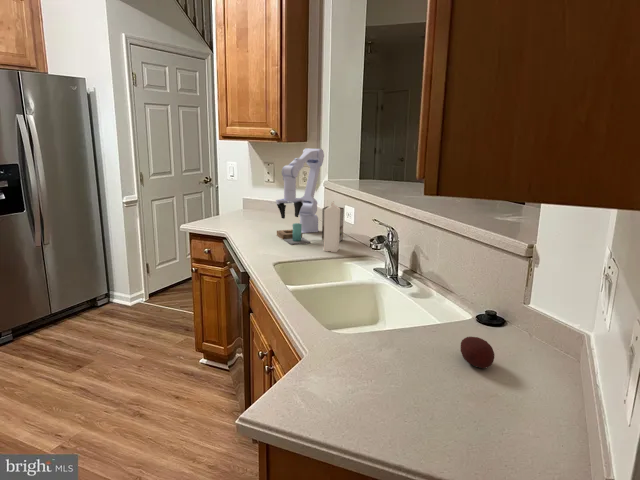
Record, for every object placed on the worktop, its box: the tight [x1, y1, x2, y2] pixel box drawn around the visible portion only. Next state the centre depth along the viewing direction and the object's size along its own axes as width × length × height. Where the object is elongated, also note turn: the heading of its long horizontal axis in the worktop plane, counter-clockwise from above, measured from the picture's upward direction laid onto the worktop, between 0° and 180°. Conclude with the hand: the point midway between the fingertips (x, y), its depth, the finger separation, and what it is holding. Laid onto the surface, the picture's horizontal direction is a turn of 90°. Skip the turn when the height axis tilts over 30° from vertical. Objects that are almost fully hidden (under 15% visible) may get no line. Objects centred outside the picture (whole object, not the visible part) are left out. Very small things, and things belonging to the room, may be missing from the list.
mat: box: [283, 237, 311, 246], centre depth 224 cm, size 10×10×1 cm
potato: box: [459, 336, 495, 369], centre depth 109 cm, size 7×10×6 cm
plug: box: [292, 222, 302, 241], centre depth 223 cm, size 4×4×8 cm
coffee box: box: [321, 206, 345, 242], centre depth 227 cm, size 9×6×16 cm
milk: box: [323, 201, 340, 253], centre depth 207 cm, size 6×6×22 cm
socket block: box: [276, 229, 303, 241], centre depth 233 cm, size 10×10×2 cm
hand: (289, 217), depth 229 cm, fingers open, 7 cm apart
